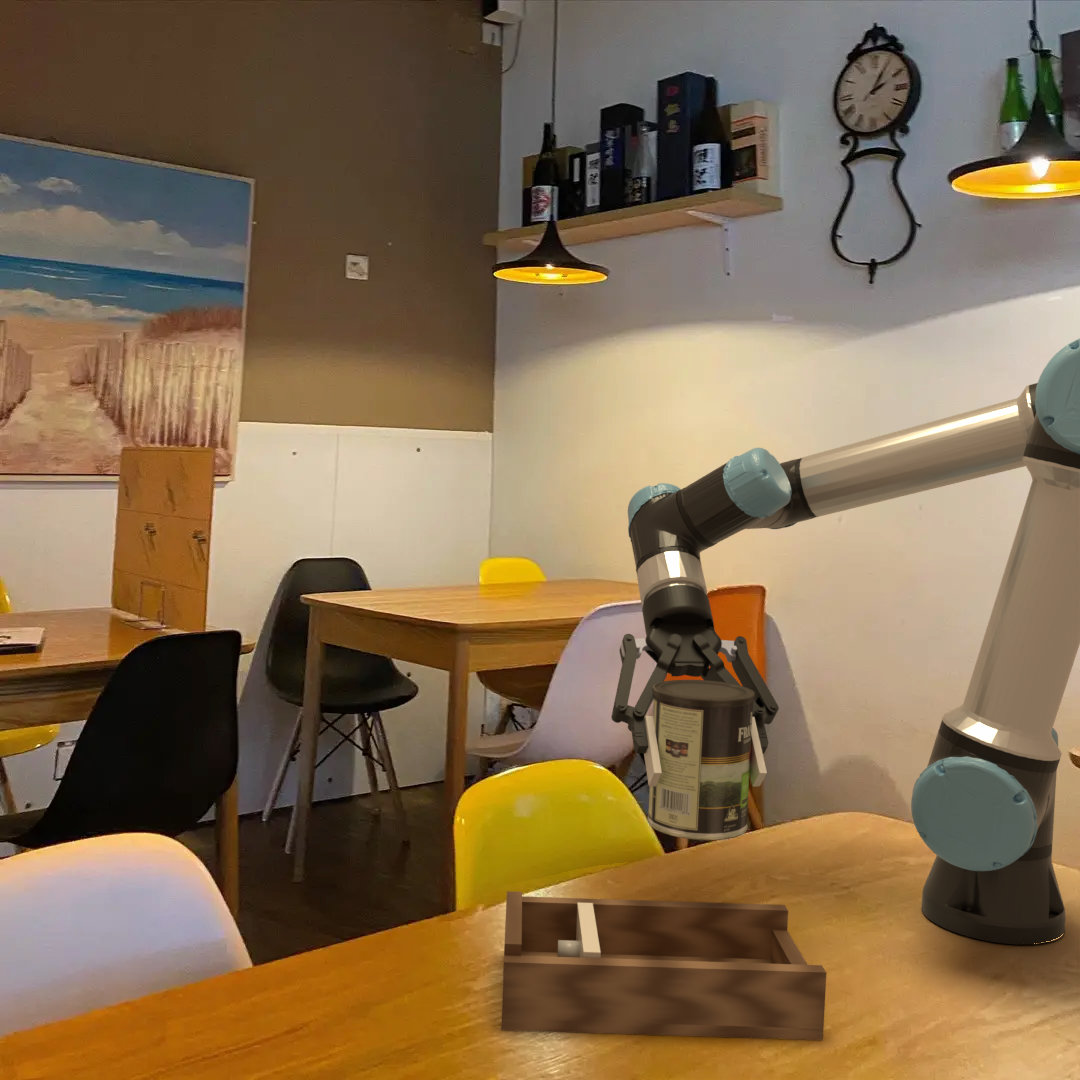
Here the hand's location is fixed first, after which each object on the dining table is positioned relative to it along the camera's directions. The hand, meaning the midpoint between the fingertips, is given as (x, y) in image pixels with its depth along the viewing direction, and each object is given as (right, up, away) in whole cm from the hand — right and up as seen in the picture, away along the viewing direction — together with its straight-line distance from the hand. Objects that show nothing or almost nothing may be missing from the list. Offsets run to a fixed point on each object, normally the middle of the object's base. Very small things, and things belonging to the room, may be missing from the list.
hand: (707, 779), depth 114 cm
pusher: (-13, -17, -7) cm, 23 cm away
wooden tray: (-6, -19, -7) cm, 21 cm away
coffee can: (-1, -5, +3) cm, 6 cm away
